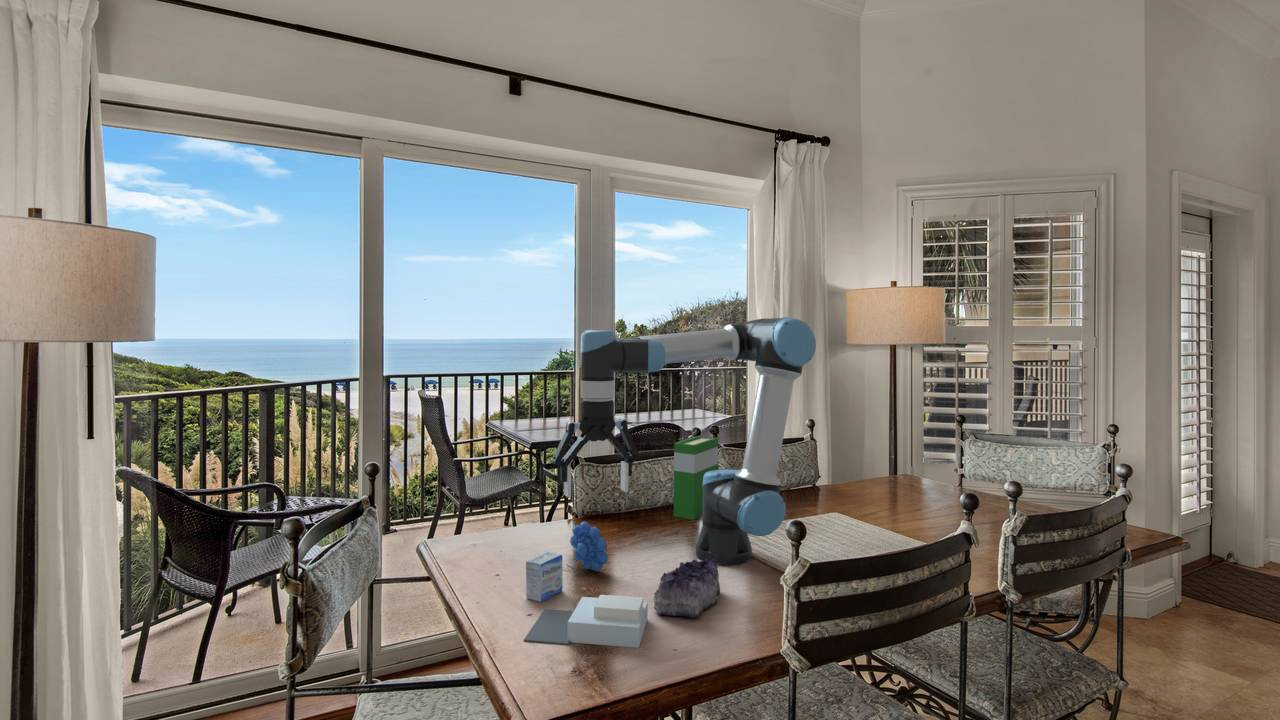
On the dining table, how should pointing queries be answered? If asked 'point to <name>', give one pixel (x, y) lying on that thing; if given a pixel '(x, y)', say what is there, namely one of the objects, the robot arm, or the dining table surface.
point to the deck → (604, 627)
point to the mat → (550, 627)
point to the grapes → (589, 546)
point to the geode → (688, 589)
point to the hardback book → (692, 474)
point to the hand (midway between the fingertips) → (596, 493)
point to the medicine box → (544, 576)
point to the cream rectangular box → (618, 607)
